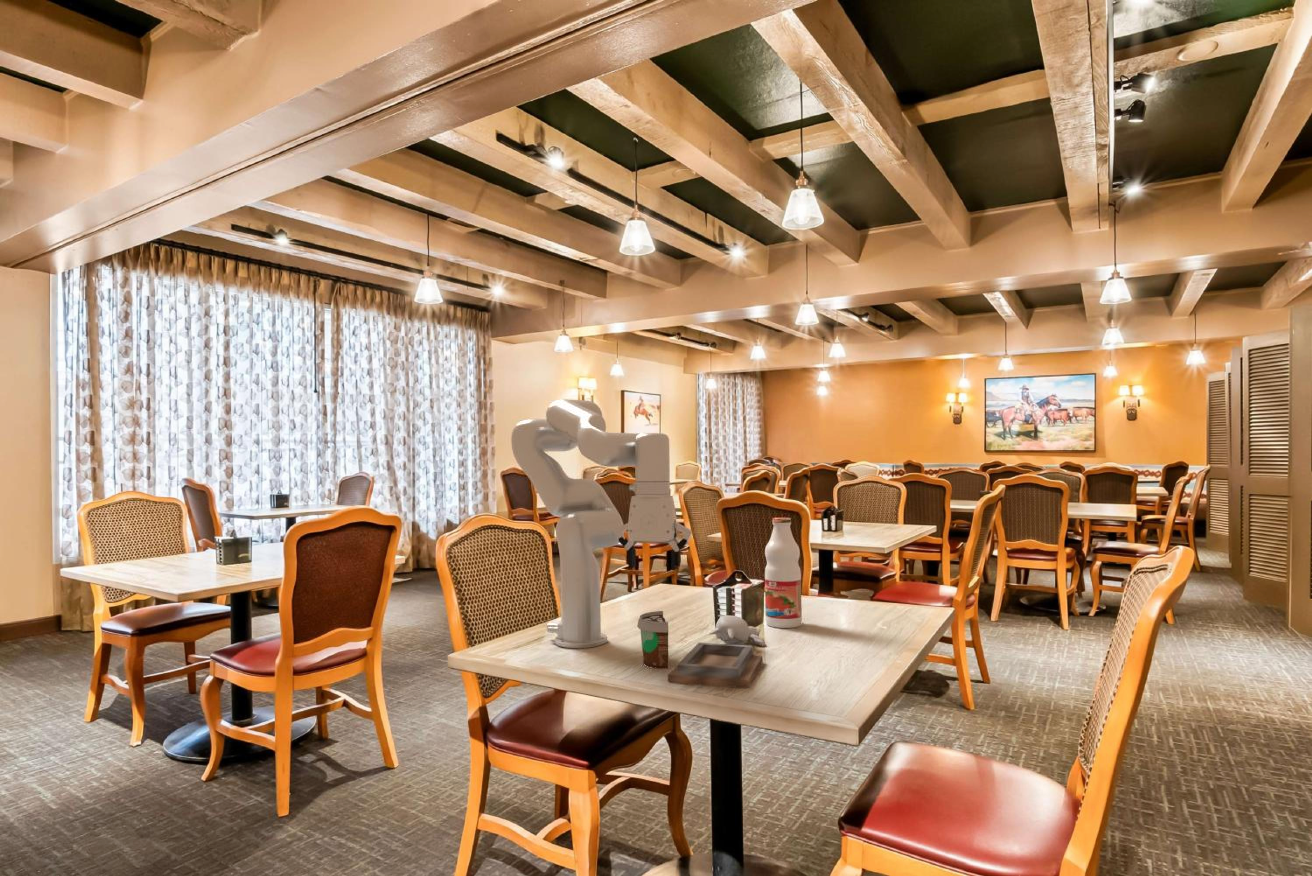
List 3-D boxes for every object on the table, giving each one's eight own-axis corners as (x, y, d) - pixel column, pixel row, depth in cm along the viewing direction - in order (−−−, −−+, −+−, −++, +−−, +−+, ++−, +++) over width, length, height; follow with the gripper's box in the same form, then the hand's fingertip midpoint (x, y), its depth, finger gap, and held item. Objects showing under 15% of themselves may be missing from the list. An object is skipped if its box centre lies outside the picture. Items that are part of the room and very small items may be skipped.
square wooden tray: (667, 682, 144) (667, 664, 144) (690, 657, 161) (690, 641, 161) (748, 688, 139) (748, 669, 139) (762, 662, 156) (762, 646, 157)
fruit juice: (809, 624, 191) (807, 517, 192) (785, 630, 185) (783, 520, 186) (781, 619, 198) (779, 516, 199) (758, 624, 192) (756, 518, 193)
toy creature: (781, 627, 175) (747, 631, 158) (770, 656, 175) (735, 663, 159) (737, 605, 182) (700, 606, 165) (727, 632, 182) (689, 636, 166)
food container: (636, 656, 163) (635, 611, 164) (663, 655, 164) (662, 610, 164) (639, 672, 151) (638, 623, 151) (669, 670, 151) (668, 622, 152)
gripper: (609, 490, 157) (609, 569, 157) (687, 490, 153) (687, 572, 152) (620, 488, 165) (621, 564, 164) (695, 489, 160) (695, 567, 159)
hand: (653, 568), depth 158 cm, fingers open, 9 cm apart
